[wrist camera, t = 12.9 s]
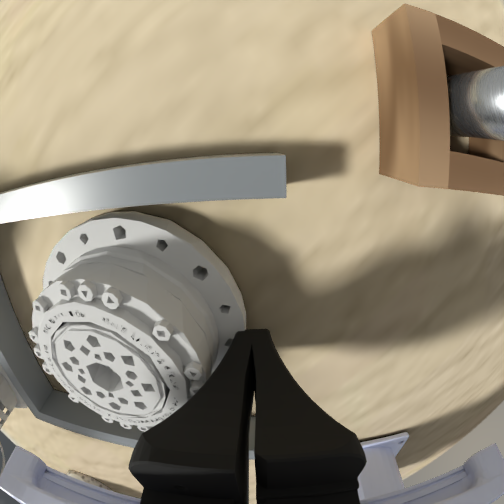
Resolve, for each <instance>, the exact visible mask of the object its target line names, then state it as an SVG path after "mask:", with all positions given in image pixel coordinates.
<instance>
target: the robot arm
mask: <svg viewBox="0 0 504 504" xmlns="http://www.w3.org/2000/svg"><path fill="white" fill-rule="evenodd" d="M254 392H255V402H256V421H255V447H254V456H255V470H256V500H257V504H491V503H492V502H494V501H495V500H497V499H498V498H500V497H501V496H502V495H504V458H503V457H502V455H501V453H500V451H499V449H498V447H497V445H496V443H493V444H491V445H489V446H488V447H486V448H484V449H482V450H480V451H478V452H477V453H475V454H474V455H473V456H471V457H470V458H469V459H468V460H467V461H466V462H465V463H464V465H462V466H460V467H458V468H456V469H453V470H451V471H449V472H447V473H444V474H442V475H440V476H437V477H435V478H432V479H430V480H427V481H424V482H422V483H419V484H416V485H413V486H410V487H407V488H404V484H403V481H402V478H401V474H400V471H399V468H398V465H397V462H396V459H395V456H396V455H397V454H398V452H399V451H400V449H401V448H402V447H403V445H404V444H405V442H406V441H407V439H408V438H409V434H408V432H404V433H400V434H396V435H392V436H388V437H384V438H379V439H375V440H370V441H365V442H360V441H359V440H358V438H357V436H356V434H355V433H353V432H352V431H350V430H349V429H347V428H345V427H344V426H343V425H341V424H340V423H338V422H337V421H336V420H334V419H333V418H332V417H331V416H329V415H328V414H327V413H326V412H324V411H323V410H322V409H321V408H320V407H319V406H318V405H317V404H316V403H315V402H314V401H313V400H312V399H311V398H310V397H309V396H308V395H307V394H306V393H305V392H304V391H303V389H302V388H301V387H300V386H299V385H298V383H297V382H296V381H295V380H294V378H293V377H292V375H291V374H290V372H289V371H288V369H287V368H286V366H285V365H284V363H283V361H282V360H281V358H280V356H279V354H278V352H277V350H276V348H275V346H274V344H273V341H272V339H271V335H270V331H269V330H267V329H250V330H245V331H238V332H236V334H235V336H234V339H233V341H232V343H231V345H230V347H229V349H228V350H227V352H226V354H225V356H224V357H223V359H222V360H221V362H220V364H219V365H218V366H217V368H216V369H215V371H214V372H213V373H212V375H211V376H210V377H209V379H208V380H207V381H206V382H205V384H204V385H203V386H202V387H201V388H200V389H199V390H198V391H197V392H196V393H195V394H194V395H193V396H192V397H191V398H190V399H189V400H188V401H187V402H186V403H185V404H184V405H183V406H182V407H180V408H179V409H178V410H176V411H175V412H174V413H173V414H171V415H170V416H169V417H167V418H166V419H165V420H163V421H162V422H160V423H159V424H157V425H155V426H154V427H152V428H150V429H149V430H147V431H145V432H143V433H142V434H141V436H140V438H139V440H138V442H137V444H136V446H135V448H134V450H133V453H132V456H131V460H130V463H129V470H130V472H131V473H132V475H133V476H134V477H135V478H136V479H137V480H138V481H139V482H140V484H141V485H142V486H143V487H144V490H143V493H142V497H141V499H140V498H135V497H131V496H128V495H124V494H120V493H117V492H113V491H110V490H107V489H104V488H101V487H98V486H95V485H92V484H89V483H86V482H84V481H81V480H78V479H76V478H73V477H71V476H68V475H66V474H64V473H61V472H59V471H57V470H54V469H52V468H50V467H48V466H46V464H45V463H44V462H43V461H42V460H41V459H40V458H39V457H37V456H36V455H34V454H32V453H31V452H29V451H27V450H25V449H23V448H21V447H19V446H16V447H15V449H14V451H13V452H12V454H11V456H10V458H9V460H8V462H7V464H6V466H5V468H4V470H3V472H2V474H1V476H0V488H1V489H2V490H3V491H4V492H6V493H7V494H8V495H10V496H11V497H12V498H14V499H15V500H17V501H18V502H20V503H21V504H249V431H250V421H251V413H252V405H253V396H254Z"/></svg>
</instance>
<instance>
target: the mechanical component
mask: <svg viewBox="0 0 504 504" xmlns="http://www.w3.org/2000/svg"><path fill="white" fill-rule="evenodd" d="M202 267H203V268H202ZM32 325H33V329H32V330H31V331H30V332H29V336H30V338H31V339H32V341H34V342H35V343H36V344H37V345H36V346H35V347H34V353H35V354H36V355H37V356H38V357H39V358H41V359H44V361H45V362H44V363H43V365H42V367H43V370H44V371H45V372H46V373H47V374H50V375H52V374H53V375H54V376H55V378H56V379H57V381H58V382H59V383H60V384H61V385H62V386H63V387H64V388H65V389H66V390H67V391H68V392H69V395H68V397H69V398H70V399H71V400H72V401H73V402H77V403H79V401H80V402H81V403H83V404H84V405H86V406H87V407H88V408H90V409H92V410H93V411H95V412H97V413H98V414H100V415H102V418H103V419H104V421H106V422H108V423H113V421H114V420H115V421H118V422H119V423H120V425H121V426H122V427H124V428H126V429H132V426H133V425H137V428H138V429H139V430H141V431H143V432H145V431H147V430H149V429H150V428H151V427H154V426H155V425H157V424H159V423H160V422H162V421H163V420H165V419H166V418H167V417H169V416H170V415H171V414H173V413H174V412H175V411H176V410H178V409H179V408H180V407H182V406H183V405H184V404H185V403H186V402H187V401H188V400H189V399H190V398H191V397H192V396H193V395H194V394H195V393H196V392H197V391H198V390H199V389H200V388H201V387H202V386H203V385H204V384H205V382H206V381H207V380H208V379H209V377H210V376H211V375H212V373H213V372H214V371H215V369H216V368H217V366H218V365H219V364H220V362H221V360H222V359H223V357H224V356H225V354H226V352H227V350H228V349H229V347H230V345H231V343H232V341H233V339H234V336H235V334H236V332H238V331H245V330H246V311H245V306H244V302H243V298H242V294H241V292H240V290H239V288H238V286H237V284H236V282H235V280H234V278H233V276H232V275H231V273H230V271H229V269H228V267H227V266H226V265H225V264H224V263H223V262H222V261H221V260H220V259H219V258H218V257H217V256H216V254H215V253H214V252H213V251H212V250H211V249H210V248H209V247H208V246H207V245H206V244H205V243H204V242H203V241H202V240H201V239H199V238H198V237H196V236H194V235H193V234H191V233H190V232H188V231H187V230H185V229H183V228H182V227H180V226H179V225H177V224H176V223H174V222H173V221H171V220H168V219H164V218H160V217H156V216H152V215H148V214H144V213H140V212H136V211H127V212H110V213H106V214H103V215H100V216H96V217H93V218H91V219H89V220H87V221H85V222H84V223H82V224H80V225H78V226H76V227H75V228H73V229H71V230H70V231H68V232H67V233H66V234H65V235H64V236H63V238H62V239H61V240H60V241H59V242H58V243H57V244H56V245H55V246H54V248H53V250H52V252H51V254H50V256H49V258H48V260H47V262H46V267H45V272H44V277H43V291H42V292H41V294H40V295H39V297H38V298H37V299H36V300H35V301H33V314H32Z"/></svg>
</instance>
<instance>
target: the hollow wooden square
mask: <svg viewBox="0 0 504 504" xmlns="http://www.w3.org/2000/svg"><path fill="white" fill-rule="evenodd" d="M372 36H373V44H374V52H375V61H376V71H377V83H378V98H379V123H380V167H379V174H381V175H385V176H388V177H391V178H394V179H397V180H401V181H404V182H407V183H410V184H413V185H416V186H419V187H432V188H443V189H454V190H463V191H472V192H480V193H488V194H496V195H503V196H504V141H501V140H493V139H484V138H474V137H469V154H464V153H459V152H453V151H450V116H449V98H448V86H447V77H446V74H448V75H451V76H453V75H458V74H462V73H467V72H472V71H477V70H482V69H488V68H494V67H500V66H504V47H503V46H501V45H500V44H498V43H496V42H494V41H492V40H491V39H489V38H487V37H485V36H483V35H481V34H479V33H477V32H475V31H473V30H471V29H469V28H467V27H465V26H463V25H461V24H458V23H456V22H454V21H452V20H449V19H447V18H444V17H442V16H439V15H437V14H434V13H431V12H429V11H426V10H423V9H420V8H417V7H414V6H411V5H408V4H403V5H402V6H401V7H400V8H398V9H397V10H396V11H395V12H394V13H392V14H391V15H390V16H389V17H387V18H386V19H385V20H384V21H383V22H382V23H380V24H379V25H378V26H377V27H376V28H375V29H373V30H372Z"/></svg>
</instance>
